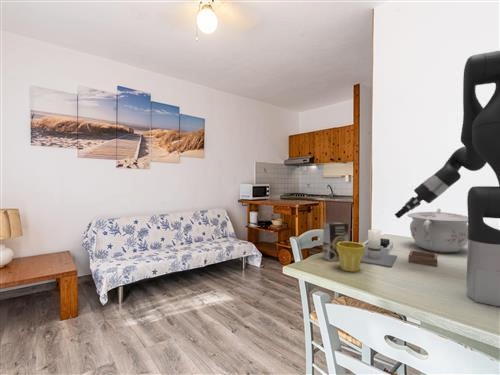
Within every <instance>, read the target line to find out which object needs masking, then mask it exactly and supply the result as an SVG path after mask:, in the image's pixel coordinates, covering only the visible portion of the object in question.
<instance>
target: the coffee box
mask: <svg viewBox="0 0 500 375" xmlns="http://www.w3.org/2000/svg"><path fill="white" fill-rule="evenodd" d="M322 229H323V235H322V236H323V237H322V238H323V240H322V258H323V259H324V260H327V261H329V262H337V261H338V262H340V259H339V254H338V252H337V243H338V242H349V223H347V222H343V221H342V222H341V221H328V222H326V221H325V222H323V228H322Z"/></svg>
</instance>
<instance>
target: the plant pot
mask: <svg viewBox="0 0 500 375" xmlns="http://www.w3.org/2000/svg"><path fill="white" fill-rule="evenodd" d="M337 252H338V254H339V259H340V261H339V263H340V269H341V270H343V271H347V272H354V273H355V272H359V270H360V266H361V259H362V256H363V255H364V252H365V246H364V245H363V243H359V242H354V241H348V242H338V243H337Z"/></svg>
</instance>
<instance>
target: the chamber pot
mask: <svg viewBox="0 0 500 375" xmlns="http://www.w3.org/2000/svg"><path fill="white" fill-rule="evenodd" d="M406 216H407V217H408V218H411V219H412V221H411V222H410V223H409V224H410V225H409V231H410V234H411V237H412V239H413V240H414V242H415V244H416V245H417V247H420V248H421V249H424V250H426V251H430V252H433V253H434V252H435V253H442V254H445V253H447V254H452V253H457V252H460V251H461V250H462V249H463V248H464V247H465V246H466V245H467V244H468V215H463V214H457V213H451V212H442V211H441V208H437V209H436V211H422V212H421V211H419V212H417V211H416V212H412V213H408V214H407V215H406Z"/></svg>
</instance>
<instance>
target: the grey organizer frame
mask: <svg viewBox="0 0 500 375" xmlns="http://www.w3.org/2000/svg"><path fill="white" fill-rule="evenodd" d="M362 244H363V245H364V246H365V251H368V239H367V240H366V241H365V242H363V243H362ZM382 247H383V246H381V247H380V248H381V251H380V253H382V254H389V255H390V252H391V251H392V249H393V248H394V242H392V241H389V245H388V246H387V248H382Z"/></svg>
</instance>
